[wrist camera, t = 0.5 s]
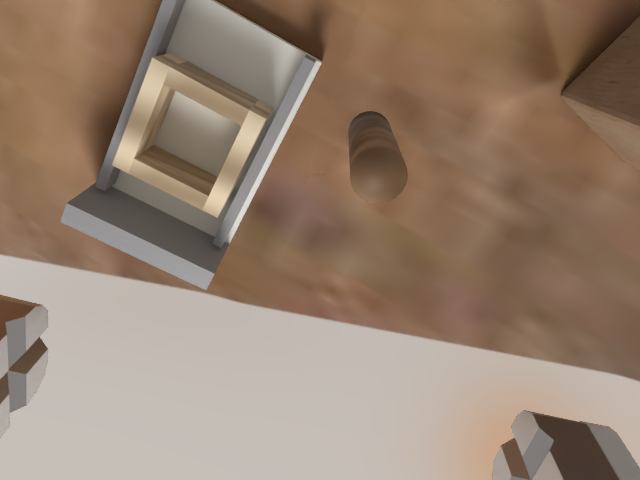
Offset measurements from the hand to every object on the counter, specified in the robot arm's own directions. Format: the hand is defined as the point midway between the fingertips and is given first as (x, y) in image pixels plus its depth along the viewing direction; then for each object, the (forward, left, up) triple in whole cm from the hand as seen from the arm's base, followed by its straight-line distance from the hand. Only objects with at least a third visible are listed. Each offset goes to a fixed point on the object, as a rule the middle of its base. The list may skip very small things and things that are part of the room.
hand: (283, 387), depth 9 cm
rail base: (+10, -9, -42) cm, 44 cm away
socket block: (+10, -9, -40) cm, 42 cm away
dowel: (+3, +5, -42) cm, 42 cm away
